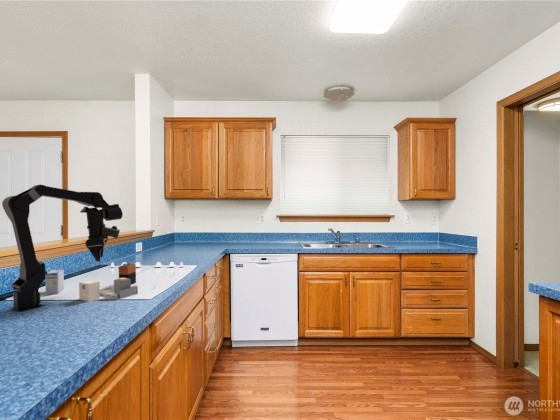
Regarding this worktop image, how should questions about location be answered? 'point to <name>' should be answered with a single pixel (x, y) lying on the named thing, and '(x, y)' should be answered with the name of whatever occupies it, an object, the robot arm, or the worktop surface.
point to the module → (89, 290)
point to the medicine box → (54, 281)
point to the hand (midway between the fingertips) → (99, 259)
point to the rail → (119, 292)
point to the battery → (128, 272)
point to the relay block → (121, 284)
